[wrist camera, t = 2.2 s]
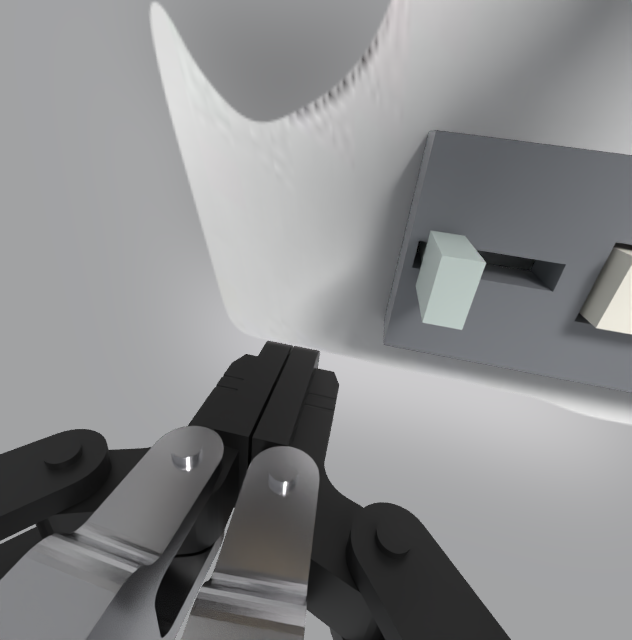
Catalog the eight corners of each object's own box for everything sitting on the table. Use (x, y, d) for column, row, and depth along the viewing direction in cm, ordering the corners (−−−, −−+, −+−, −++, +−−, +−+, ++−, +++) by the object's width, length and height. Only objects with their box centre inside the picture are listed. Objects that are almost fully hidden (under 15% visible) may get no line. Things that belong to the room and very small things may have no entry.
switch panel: (428, 131, 23) (436, 130, 19) (929, 196, 20) (1043, 207, 17) (384, 320, 30) (383, 344, 26) (755, 389, 27) (811, 427, 23)
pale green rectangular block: (424, 216, 25) (442, 255, 17) (453, 220, 25) (486, 262, 16) (411, 264, 27) (422, 322, 18) (438, 269, 26) (462, 329, 18)
